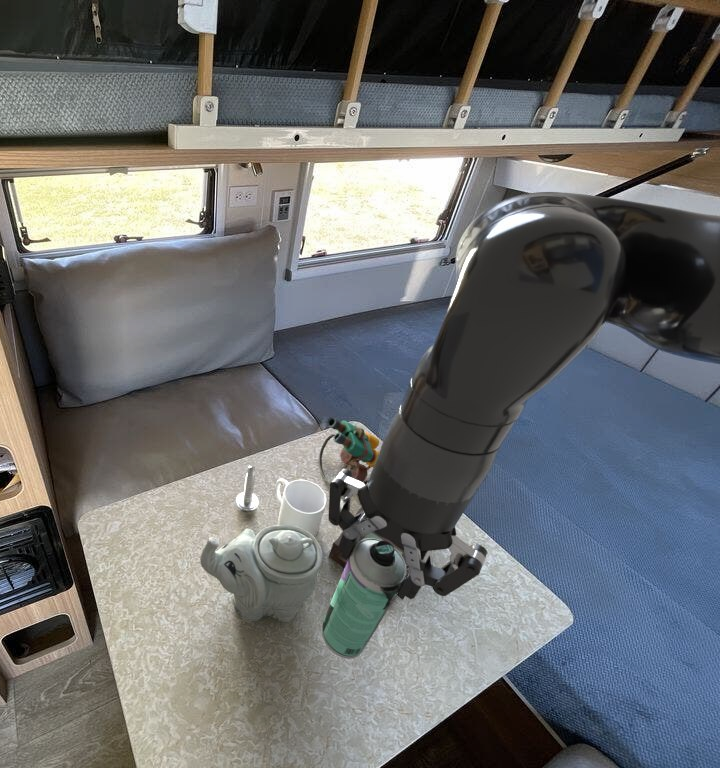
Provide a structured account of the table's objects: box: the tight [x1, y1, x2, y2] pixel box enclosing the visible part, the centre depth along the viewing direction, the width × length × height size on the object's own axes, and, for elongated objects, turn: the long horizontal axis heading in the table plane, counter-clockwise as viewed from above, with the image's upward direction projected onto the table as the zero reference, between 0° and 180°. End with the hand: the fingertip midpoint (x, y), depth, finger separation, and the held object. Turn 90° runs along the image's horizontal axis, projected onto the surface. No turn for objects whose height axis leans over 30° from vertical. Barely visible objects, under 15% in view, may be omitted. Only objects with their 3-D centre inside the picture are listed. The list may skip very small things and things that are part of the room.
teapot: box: [199, 524, 324, 623], centre depth 68 cm, size 16×15×19 cm
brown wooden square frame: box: [327, 505, 406, 570], centre depth 78 cm, size 12×12×5 cm
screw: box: [235, 465, 259, 513], centre depth 85 cm, size 13×5×5 cm
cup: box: [274, 478, 328, 538], centre depth 83 cm, size 8×12×10 cm
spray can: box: [321, 538, 407, 660], centre depth 46 cm, size 6×6×20 cm
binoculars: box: [318, 416, 380, 484], centre depth 94 cm, size 14×14×15 cm
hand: (374, 571), depth 43 cm, fingers closed on spray can, 5 cm apart
